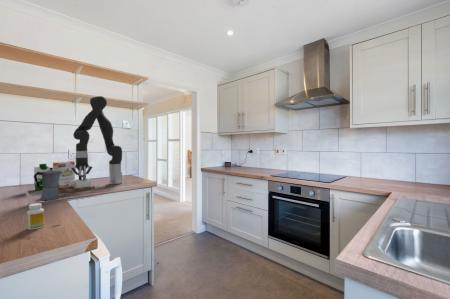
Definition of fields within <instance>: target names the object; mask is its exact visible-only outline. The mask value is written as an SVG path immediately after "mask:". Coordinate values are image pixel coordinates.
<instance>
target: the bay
mask: <svg viewBox="0 0 450 299" xmlns="http://www.w3.org/2000/svg"><path fill="white" fill-rule="evenodd" d="M57 187H58V195H59V194H60V195H61V194H65V193H67V194H68V193H74V192H80V191H81V192H83V191H89V190H95V189H96V186H95V185H92V184H91V186H90V187H83V188H75V189H74V186H69V187H60V188H59V182H58V186H57Z"/></svg>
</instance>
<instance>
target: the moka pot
mask: <svg viewBox="0 0 450 299" xmlns="http://www.w3.org/2000/svg"><path fill="white" fill-rule="evenodd" d="M61 173H62V172H61V171H54V170H53V167H50V170H49V171H44V172H37V173H36V174H35V175H34V174H33V180H34V179H35V182H36V185H37V187H42V185H41V186H40V185H39V183H38V180H37V177H36V176H37V175H42V181H43V190H41V195H40V200H41V201H53V200H54V201H55V200H58V199H59V198H60V196H59V194H58V187H57V186H58V182H59V177H60V175H61Z"/></svg>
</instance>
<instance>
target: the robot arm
mask: <svg viewBox="0 0 450 299" xmlns="http://www.w3.org/2000/svg"><path fill="white" fill-rule="evenodd" d="M89 103H90V106H91V109H92V110H91V111H89V112H88V114H86V115H85V117H84V118H83V120H82V121H81V123H80V125H78V127H76V129H75V130H74V132H73V139H75V140H79V142H77V143H76V144H75V167H73V168H71V169H72V170H73V171H74V173H75V176H78V180H81V175H84V176H85V179H87V178H86V177H87V175H88V174H90V172H91V170H92V169H93V166H92V165H91V166H90V165H89V158H88V157H89V155H88V144H89V140H90V133H89V130H92V127H93V125H94V123H95V122H96V121H97V123H98V127H99V129H100V132H101V134H102V138H103V141H104V145H105V149H106V153H107V154H108V156H110V157H111V160H109V161H108V169H109V170H108V172H109V173H108V174H109V175H108V176H109V177H108V178H109V179H108V181H109V184H110V185H119V184H123V172H122V160H123V148H122V147H121V146H120V145H115V143H114V139H113V137H114V128H113V125H112V123H111V121H110V119H109V118H108V117H107V116H106V115H105V113H104V109H105V108H106V106H107V104H108V101H107V99H106V97H104V96H102V95H100V96H99V95H98V96H93V97H91V98H90V100H89ZM77 171H78V172H77Z"/></svg>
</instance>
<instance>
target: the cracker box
mask: <svg viewBox="0 0 450 299" xmlns="http://www.w3.org/2000/svg"><path fill="white" fill-rule="evenodd" d="M75 165H76V161H74V160H71V161H69V160H68V161H58V162H56V161H55V162H52V168H53V169H52V170H54V171H61V172H62V173H61V175H60V177H59V188H60V187H69V186H74V180H76V179H75V178H76V177H75V176H76V174H75V173H74V171H73V170H72V169H71V168H73V167H75Z"/></svg>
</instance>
